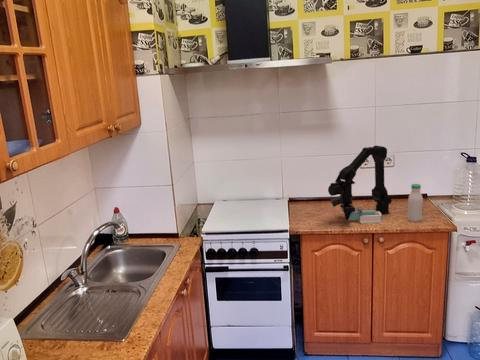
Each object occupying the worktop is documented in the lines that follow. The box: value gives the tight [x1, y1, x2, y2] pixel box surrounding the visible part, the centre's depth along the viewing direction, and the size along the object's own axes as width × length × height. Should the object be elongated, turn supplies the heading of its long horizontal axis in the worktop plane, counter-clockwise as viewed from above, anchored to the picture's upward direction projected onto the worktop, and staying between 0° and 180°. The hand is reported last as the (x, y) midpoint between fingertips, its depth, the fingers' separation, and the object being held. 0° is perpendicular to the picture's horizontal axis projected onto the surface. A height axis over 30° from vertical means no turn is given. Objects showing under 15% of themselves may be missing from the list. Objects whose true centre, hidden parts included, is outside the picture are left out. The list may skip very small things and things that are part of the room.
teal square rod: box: [344, 209, 376, 221], centre depth 235 cm, size 16×2×4 cm, turn 85°
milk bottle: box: [407, 183, 424, 223], centre depth 230 cm, size 8×8×20 cm
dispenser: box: [357, 206, 384, 224], centre depth 235 cm, size 12×8×7 cm
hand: (346, 219), depth 236 cm, fingers closed on teal square rod, 2 cm apart
